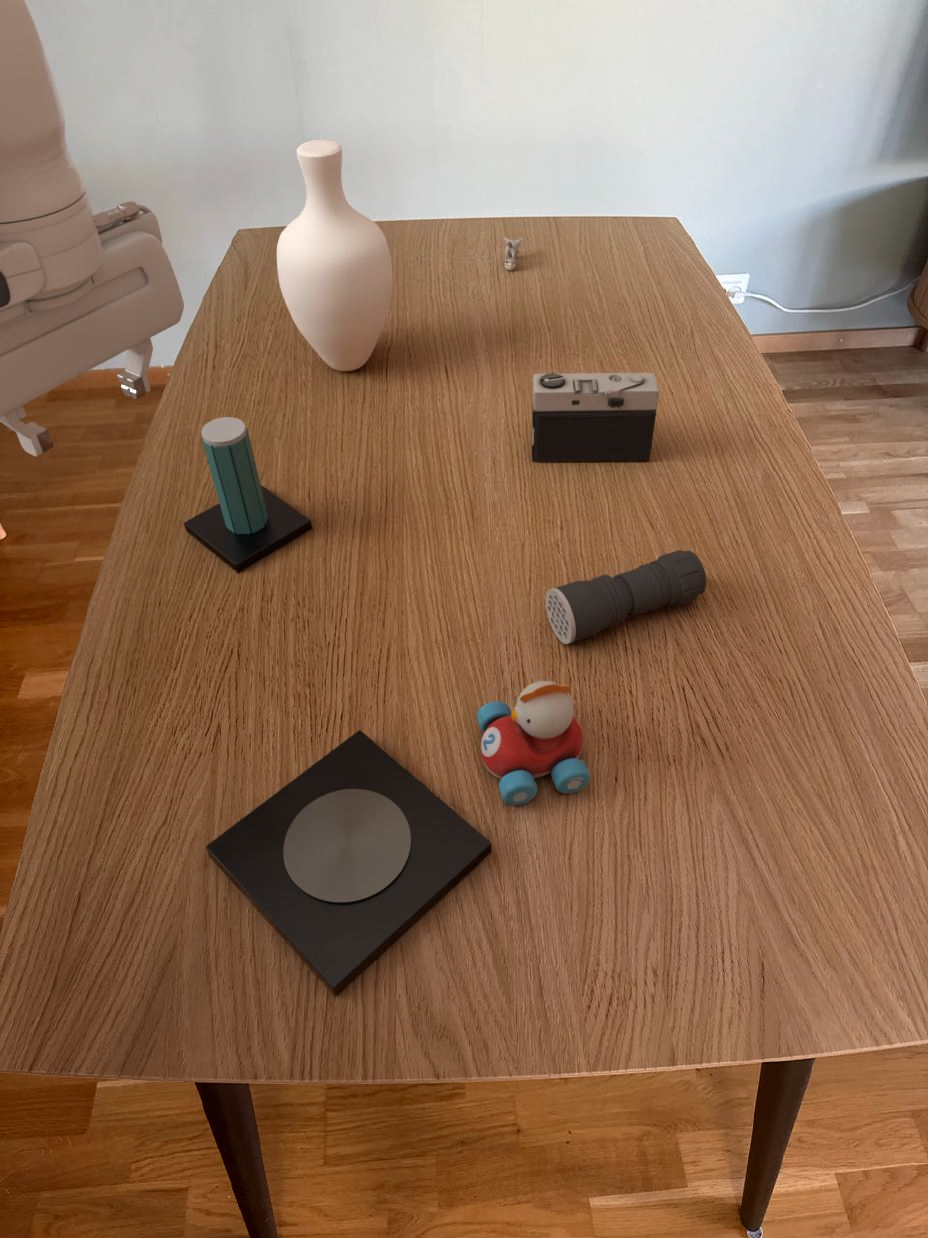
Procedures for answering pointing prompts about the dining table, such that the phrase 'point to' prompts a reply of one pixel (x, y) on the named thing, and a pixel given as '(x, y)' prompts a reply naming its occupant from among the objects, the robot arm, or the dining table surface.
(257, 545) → the black peg stand
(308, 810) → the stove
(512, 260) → the dog figurine
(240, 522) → the teal ribbed pillar
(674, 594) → the flashlight
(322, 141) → the vase
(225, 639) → the dining table surface
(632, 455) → the camera
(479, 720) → the toy car
